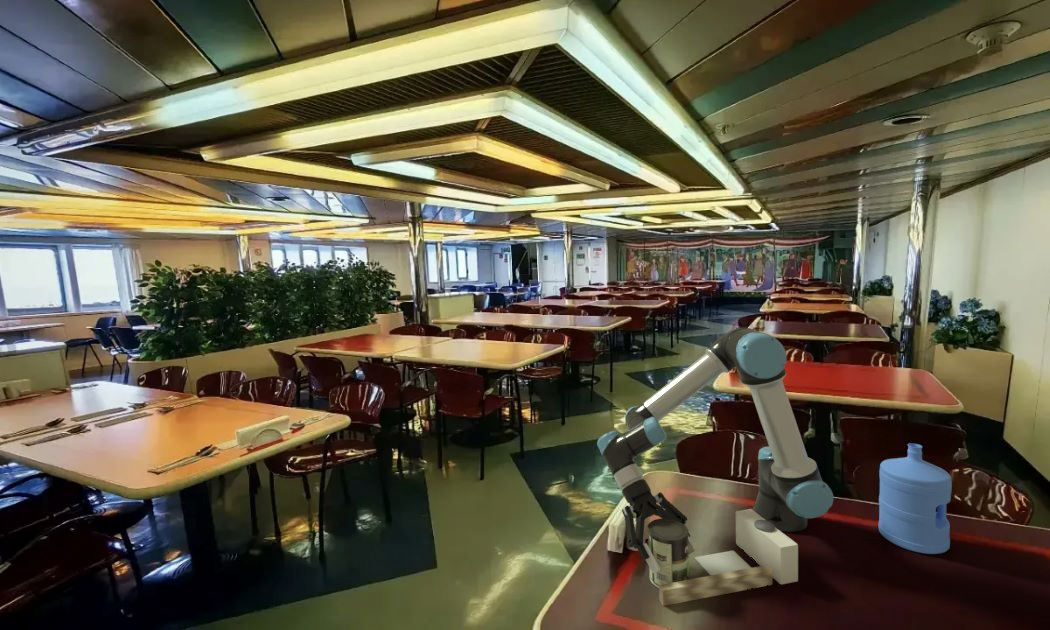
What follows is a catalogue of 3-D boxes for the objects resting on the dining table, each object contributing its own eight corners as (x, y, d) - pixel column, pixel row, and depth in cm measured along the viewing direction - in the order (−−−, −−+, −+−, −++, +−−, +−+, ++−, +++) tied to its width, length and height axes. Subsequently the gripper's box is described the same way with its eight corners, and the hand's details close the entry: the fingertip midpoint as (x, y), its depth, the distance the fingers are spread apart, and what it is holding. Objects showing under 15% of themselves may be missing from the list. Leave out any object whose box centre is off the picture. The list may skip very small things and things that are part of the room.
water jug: (889, 549, 126) (890, 453, 124) (871, 520, 141) (872, 433, 138) (961, 560, 120) (964, 459, 118) (934, 528, 135) (937, 437, 132)
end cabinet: (751, 541, 134) (750, 506, 133) (797, 581, 116) (797, 542, 115) (689, 551, 130) (688, 517, 129) (727, 595, 113) (726, 555, 112)
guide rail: (766, 579, 117) (766, 565, 117) (772, 584, 115) (772, 569, 115) (659, 600, 112) (659, 585, 112) (663, 605, 110) (662, 590, 110)
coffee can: (686, 567, 124) (685, 519, 122) (692, 594, 114) (691, 541, 112) (647, 565, 126) (646, 516, 124) (650, 590, 116) (648, 538, 114)
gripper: (657, 477, 137) (699, 549, 126) (592, 502, 125) (632, 584, 113) (670, 467, 132) (715, 540, 121) (604, 491, 120) (647, 575, 108)
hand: (675, 561), depth 117 cm, fingers open, 13 cm apart
